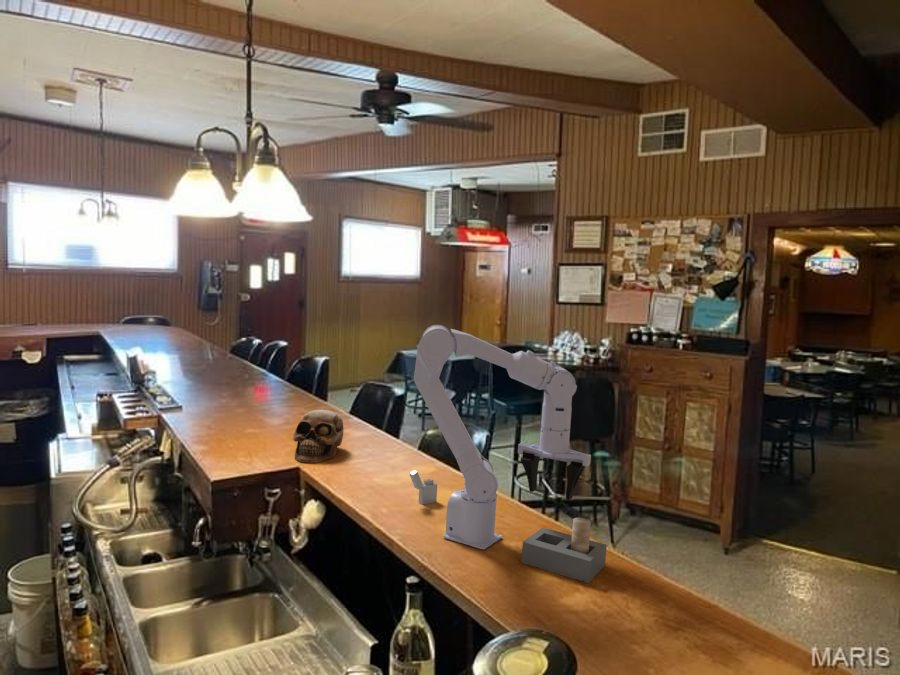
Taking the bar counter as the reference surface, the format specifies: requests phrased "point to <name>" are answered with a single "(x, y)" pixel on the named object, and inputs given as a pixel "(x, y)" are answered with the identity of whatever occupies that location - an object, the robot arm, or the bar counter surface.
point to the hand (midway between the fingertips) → (550, 494)
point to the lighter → (424, 488)
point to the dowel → (581, 535)
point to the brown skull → (318, 436)
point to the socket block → (563, 555)
